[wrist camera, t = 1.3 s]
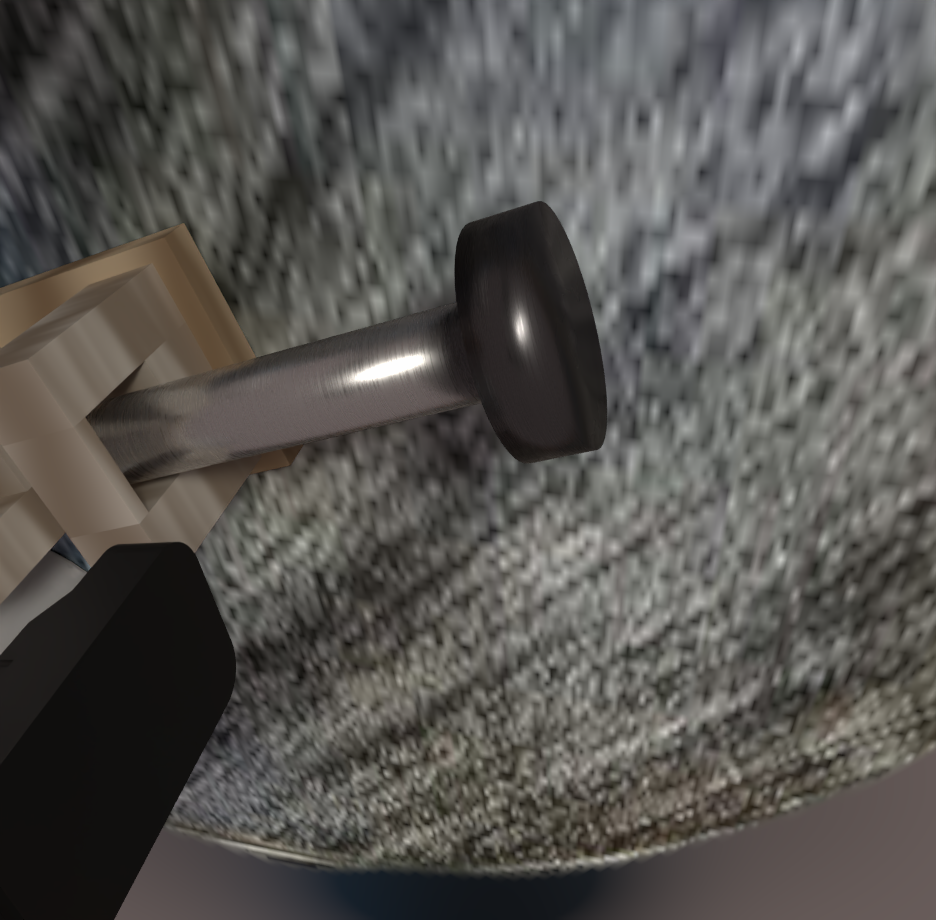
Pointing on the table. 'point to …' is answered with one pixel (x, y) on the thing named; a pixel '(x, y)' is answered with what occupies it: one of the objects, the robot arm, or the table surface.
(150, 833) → the robot arm
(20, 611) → the utensil holder
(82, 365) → the block
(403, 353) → the shaft
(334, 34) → the table surface
